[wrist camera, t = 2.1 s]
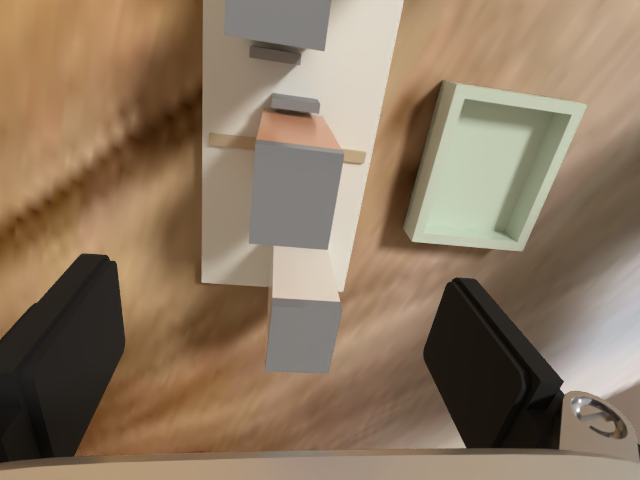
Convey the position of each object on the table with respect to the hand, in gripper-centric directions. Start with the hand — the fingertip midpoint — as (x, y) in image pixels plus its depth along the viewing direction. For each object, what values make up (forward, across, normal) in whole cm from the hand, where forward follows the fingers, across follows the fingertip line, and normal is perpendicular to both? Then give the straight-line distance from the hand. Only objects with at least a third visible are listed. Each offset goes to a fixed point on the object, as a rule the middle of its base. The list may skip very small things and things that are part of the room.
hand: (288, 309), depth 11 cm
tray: (+19, -16, 0) cm, 25 cm away
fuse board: (+19, -1, 0) cm, 19 cm away
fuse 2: (+18, -2, +9) cm, 20 cm away
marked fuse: (+18, -1, 0) cm, 18 cm away
